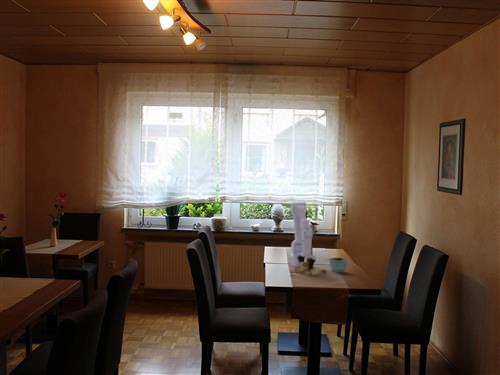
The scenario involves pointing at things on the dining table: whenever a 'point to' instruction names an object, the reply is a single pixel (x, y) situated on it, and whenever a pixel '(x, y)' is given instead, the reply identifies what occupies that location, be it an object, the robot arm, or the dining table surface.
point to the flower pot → (338, 264)
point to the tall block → (304, 266)
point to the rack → (308, 272)
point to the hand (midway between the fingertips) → (306, 268)
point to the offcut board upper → (315, 270)
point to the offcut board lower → (317, 273)
